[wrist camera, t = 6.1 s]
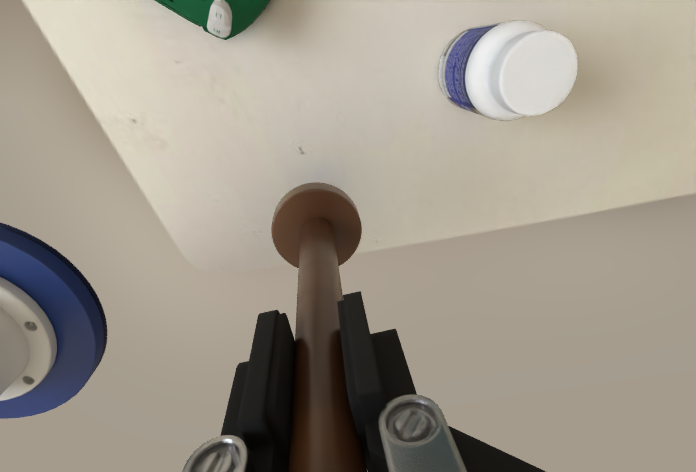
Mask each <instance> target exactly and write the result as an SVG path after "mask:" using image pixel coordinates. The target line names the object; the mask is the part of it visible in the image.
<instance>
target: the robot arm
mask: <svg viewBox="0 0 696 472" xmlns="http://www.w3.org/2000/svg"><path fill="white" fill-rule="evenodd" d="M343 299H344V300H341V301H337V306H338V315H339V324H340V333H341V342H342V351H343V360H344V368H345V377H346V386H347V393H348V399H349V403H350V408H351V411H352V415H353V419H354V422H355V426H356V430H357V434H358V437H359V440H360V441H361V443H362V444H363V447H364V452H365V459H366V466H367V470H368V472H545V471H543V470H541V469H539V468H537V467H535V466H533V465H531V464H528V463H526V462H524V461H522V460H520V459H518V458H516V457H514V456H512V455H509V454H507V453H505V452H503V451H501V450H499V449H496V448H495V447H492V446H490V445H488V444H486V443H484V442H482V441H480V440H477V439H475V438H473V437H471V436H469V435H467V434H465V433H463V432H460V431H458V430H456V429H454V428H452V427H450V426H448V425H447V422H446V420H445V418H444V415H443V413H442V411H441V409H440V408H439V406H438V405H437V404H436V403H435V402H434V401H432V400H431V399H429V398H427V397H424V396H422V395H417V394H416V390H415V387H414V384H413V381H412V378H411V375H410V372H409V369H408V365H407V362H406V359H405V356H404V353H403V350H402V347H401V343H400V340H399V338H398V334H397V331H396V329H392V330H387V331H383V332H378V333H374V334H370V332H369V328H368V323H367V318H366V314H365V309H364V305H363V300H362V296H361V292H355V293H350V294H346V295H343ZM56 354H57V339H56V335H55V332H54V329H53V326H52V324H51V322H50V321H49V319H48V317H47V315H46V314H45V312H44V311H43V310H42V309H41V308H40V306H39V305H38V304H37V303H36V302H35V301H34V300H33V299H32V298H31V297H30V296H29V295H28V294H26V293H25V292H24V291H23V290H21V289H20V288H18V287H17V286H15V285H14V284H12V283H11V282H9V281H8V280H6V279H4V278H1V277H0V401H2V400H8V399H12V398H15V397H18V396H21V395H23V394H25V393H27V392H29V391H31V390H32V389H33V388H34V387H36V386H37V385H38V384H39V383H40V382H41V381H42V380H43V379H44V378H45V376H46V375H47V374H48V373H49V372H50V370H51V368H52V366H53V364H54V362H55V359H56ZM294 356H295V340H294V337H293V334H292V331H291V328H290V324H289V321H288V318H287V315H286V314H285V313H283V314H280V313H279V311H278V310H274V311H269V312H265V313H260V314H259V315H258V319H257V324H256V329H255V334H254V339H253V344H252V350H251V354H250V359H249V361H247V362H243V363H239V364H238V366H237V368H236V373H235V377H234V381H233V385H232V389H231V394H230V398H229V402H228V406H227V411H226V415H225V419H224V423H223V428H222V432H221V436H219V437H216V438H213V439H211V440H209V441H207V442H206V443H204V444H203V445H201V446H200V447H199V448H198V449H197V450H196V451H194V453H193V454H192V455H191V456H190V458H189V459H188V460H187V463H186V464H185V466H184V469H183V471H182V472H289V456H290V437H291V417H292V397H293V376H294Z"/></svg>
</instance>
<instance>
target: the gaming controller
mask: <svg viewBox="0 0 696 472" xmlns="http://www.w3.org/2000/svg"><path fill="white" fill-rule="evenodd" d="M155 1H157V2H158V3H160V4H162V5H163V6H165V7H167V8H168V9H170V10H172V11H173V12H175V13H177V14H178V15H180V16H182V17H183V18H185V19H187V20H188V21H190V22H192V23H194V24H196V25H198V26H202V27H203V29H204V31H206V32H208V33H210V34H212V35H214V36H216V37H219V38H222V39H225V40H227V39H230V38H232V37H234V36H235V35H237V34H239V33H240V32H242V31H244V30H245V29H246V28H247V27H248V26H250V25H251V24H252V23H253V22H254V21H255V20H256V18H257V17H258V16H259V15H260V14H261V13H262V11H263V10H264V9H265V7H266V6H267V4H268V3H269V1H270V0H155Z"/></svg>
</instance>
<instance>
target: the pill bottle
mask: <svg viewBox="0 0 696 472" xmlns="http://www.w3.org/2000/svg"><path fill="white" fill-rule="evenodd" d="M577 72H578V58H577V54H576V51H575V48H574V46H573V45H572V43H571V42H570V41H569V40H568V39H567V38H566V37H565V36H563V35H562V34H560V33H558V32H555V31H550V30H547V29H545V28H544V27H543V26H541V25H539V24H537V23H534V22H530V21H525V20H515V21H509V22H504V23H498V24H493V25H487V26H480V27H474V28H470V29H467V30H465V31H463V32H461V33H460V34H458V35H457V36H456V37H455V38H454V39H453V40H452V41H451V42H450V43H449V44H448V45H447V47H446V49H445V50H444V52H443V54H442V57H441V60H440V64H439V72H438V76H439V83H440V86H441V89H442V91H443V93H444V95H445V96H446V97H447V99H448V100H449V101H450V102H451V103H453V104H454V105H456V106H458V107H460V108H463V109H466V110H469V111H471V112H474V113H477V114H480V115H483V116H485V117H488V118H491V119H495V120H501V121H511V120H517V119H520V118H523V117H526V116H537V115H541V114H544V113H547V112H549V111H551V110H553V109H554V108H556V107H557V106H558V105H559V104H561V103H562V101H564V99H565V98H566V97H567V96H568V94H569V93H570V91H571V89H572V87H573V85H574V83H575V80H576V77H577Z"/></svg>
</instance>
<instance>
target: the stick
mask: <svg viewBox="0 0 696 472" xmlns="http://www.w3.org/2000/svg"><path fill="white" fill-rule="evenodd" d="M361 229H362V227H361V221H360V217H359V214H358V211H357V208H356V206H355V204H354V203H353V201H352V200H351V198H350V197H349V196H348V195H347V194H346V193H345V192H343V191H342V190H340V189H339V188H337V187H335V186H332V185H329V184H325V183H308V184H304V185H301V186H298V187H296V188H294V189H292V190H291V191H290V192H288V193H287V194H286V195H285V196H284V197H283V198H282V199H281V201H280V202H279V204H278V206H277V207H276V210H275V213H274V218H273V222H272V238H273V242H274V245H275V247H276V249H277V251H278V252H279V254H280V255H281V256H282V257H283V258H284V259H285V260H286V261H287V262H288V263H290V264H291V265H293V266H295V267H297V268H299V275H298V294H297V314H296V315H297V316H296V334H295V356H294V376H293V397H292V417H291V437H290V456H289V472H367V466H366V459H365V452H364V447H363V444H362V443H361V441H360V440H359V437H358V434H357V430H356V426H355V422H354V419H353V415H352V411H351V408H350V403H349V399H348V393H347V386H346V377H345V368H344V360H343V351H342V342H341V333H340V324H339V315H338V306H337V301H341V300H343V296H342V289H341V282H340V275H339V267H338V266H340V265H341V264H343V263H344V262H346V261H347V260H348V259H349V258H350V257H351V256H352V255H353V253H354V252H355V250H356V249H357V247H358V245H359V242H360V239H361Z"/></svg>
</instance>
